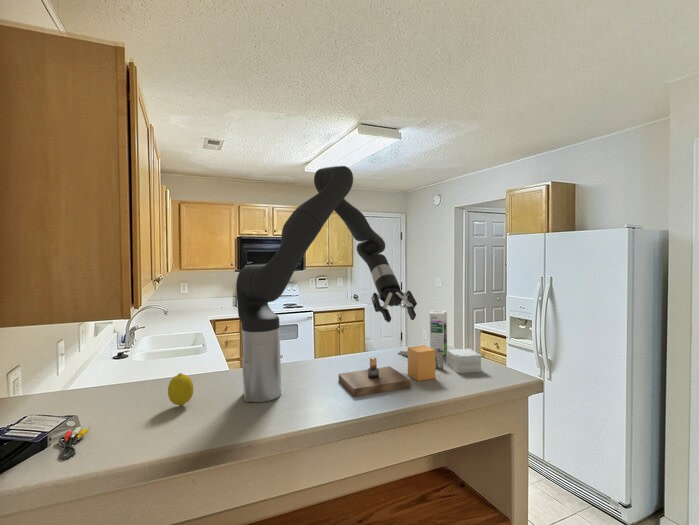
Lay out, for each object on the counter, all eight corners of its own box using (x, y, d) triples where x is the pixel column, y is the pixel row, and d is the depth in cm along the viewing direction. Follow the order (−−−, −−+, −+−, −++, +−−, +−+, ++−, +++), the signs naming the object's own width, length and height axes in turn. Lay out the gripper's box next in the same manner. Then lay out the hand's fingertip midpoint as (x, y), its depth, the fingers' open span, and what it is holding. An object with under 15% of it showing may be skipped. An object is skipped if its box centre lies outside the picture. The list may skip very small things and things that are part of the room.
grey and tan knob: (370, 379, 96) (370, 360, 96) (366, 375, 99) (365, 357, 99) (380, 377, 97) (380, 359, 97) (376, 374, 100) (375, 356, 100)
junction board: (354, 396, 90) (353, 388, 90) (338, 380, 101) (338, 373, 101) (410, 387, 96) (410, 379, 95) (390, 373, 107) (389, 366, 107)
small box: (469, 364, 114) (469, 347, 114) (481, 372, 106) (481, 355, 106) (446, 365, 113) (445, 349, 113) (456, 373, 106) (456, 356, 105)
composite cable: (74, 459, 65) (73, 446, 65) (41, 465, 64) (41, 452, 64) (91, 434, 75) (90, 422, 75) (62, 439, 73) (62, 427, 73)
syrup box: (429, 354, 125) (429, 312, 124) (431, 349, 130) (430, 309, 130) (446, 355, 123) (446, 313, 123) (447, 350, 129) (447, 310, 128)
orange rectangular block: (418, 380, 100) (417, 352, 100) (408, 374, 105) (407, 347, 105) (435, 378, 102) (435, 349, 102) (424, 371, 107) (424, 345, 107)
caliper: (443, 369, 110) (443, 349, 110) (440, 370, 109) (440, 349, 109) (399, 353, 127) (399, 336, 127) (397, 354, 127) (397, 336, 126)
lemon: (169, 403, 88) (168, 371, 88) (194, 400, 90) (193, 368, 90) (167, 413, 83) (165, 378, 83) (193, 409, 85) (192, 375, 85)
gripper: (368, 274, 119) (384, 314, 109) (407, 272, 124) (425, 310, 113) (363, 288, 124) (377, 328, 114) (400, 286, 129) (417, 324, 119)
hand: (401, 319), depth 114 cm, fingers open, 8 cm apart
